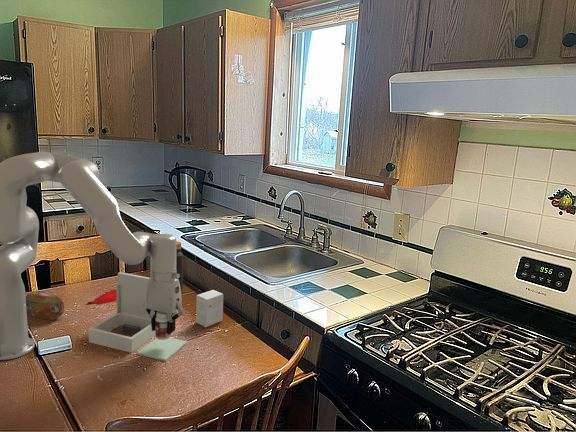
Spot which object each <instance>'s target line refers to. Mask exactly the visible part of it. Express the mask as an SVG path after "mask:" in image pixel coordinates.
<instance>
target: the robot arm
mask: <svg viewBox="0 0 576 432" xmlns="http://www.w3.org/2000/svg"><path fill="white" fill-rule="evenodd" d="M99 178H100V170H99V168H98V167H97V165H96V163H94V162H92V161H91V160H89V159H86V158H81V157H76V156H75V157H74V156H71V155H65V154H59V153H54V152H49V151H48V152H47V151H37V152H30V153H24V154H19V155H16V156H11V157H8V158H6V159H4V160H2V161H1V162H0V245H1V246H0V361H7V360H13V359H16V358H19V357H22V356H25V355H26V354H29V353H30V352H31V351H32V350H33V349H34V348H35V347H36V346H35V340H34V339H33V338H31V337H29V329H28V314H27V308H26V296H27V295H26V294H27V293H26V288H25V284H24V281H23V279H22V273H23V272H24V271H26V270H27V269H28V268H29V267H31V265H33V264H34V262H35V260H36V257H37V252H38V242H39V231H40V221H39V218H38V215H37V213H36V212H35V210H34V209H32V208H31V207H29V206H28V205H27V203H28V202H27V200H28V196H27V195H28V194H27V190H26V189H27V187H28V186H33V185H37V184H41V183H44V182H53V183H59V184H61V186H62V187H63V189H65V190H66V191H67V193H69V195H70V196H71V197H72V198H73V199H74V200H75V201H76V203H77V204H78V205H79V206H80V207H81V208H82V209H83V210H84V212H85V213H86V214H87V215H88V217H90V218H91V220H92V222H93V224H94V227H95V230H96V231H97V232H98V235H99V236H100V237H101V240H102V242H104V244H105V245H106V246H107V248H108V249H109V250H110V251H111V252H112V253H113V255H114V256H116V258H117V259H119V260H120V261H121V262H123V264H125V265H129V266H136V265H139V264H141V263H142V262H143V261H144V260H145V258H146V257H148V256H149V257H150V261H149V262H150V264H149V265H150V269H149V270H150V271H149V272H150V273H149V274H150V275H149V276H150V277H149V281H148V285H147V293H146V300H145V301H144V303H143V304H142V307H143V308H144V309H145V310H146V311H147V313H148V314H149V317H150V318H151V326H152V331H155V319H156V317H157V311H160V312H164V313H167V315H168V319H169V322H168V323H167V334H169V335H170V334H171V335H172V333H174V332H175V331H176V320H177V319H178V318H179V317H182V316H183V315H184V314H185V313H186V310H185V309H184V307H183V306H182V305H183V304H182V301H183V299H182V289H181V288H180V283H179V279H176V278H179V276H180V275H179V274H177V270H176V241H177V238H176V236H175V235H173V234H169V233H159V234H158V233H157V234H156V233H150V232H147V231H146V232H145V231H135V232H131V231H130V230H129V229H128V227H127V226H126V225H125V222H124V221H123V220H122V219H123V218H122V217H121V213H120V208H119V204H118V203H119V202H118V200H117V198H115V196H114V195H113V194H112V193H111V192H110V191H109V190H108V189H107V188H106V185H104V184H103V183H102V182H101V180H100V179H99Z"/></svg>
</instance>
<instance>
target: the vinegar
mask: <svg viewBox="0 0 576 432" xmlns="http://www.w3.org/2000/svg"><path fill="white" fill-rule="evenodd" d="M181 250H182V242H181V241H177V240H176V270H177V274H179V275H180V276H179V278H176V279H179V283H180V288H181V290H182V289H183V287H184V253H183V252H182V251H181Z"/></svg>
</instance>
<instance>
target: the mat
mask: <svg viewBox="0 0 576 432" xmlns="http://www.w3.org/2000/svg"><path fill="white" fill-rule="evenodd" d="M187 344H188V341H187V340H182V339H177V338H173V337H170V338H169V339H166V340H159V339H157V338H156V337H155V339H154V340H152V341H151V342H150V343H148V344H147V345H145V346H144V347H143V348H141V349H140V350H139V351H138V352H137V355H140V356H144V357H148V358H152V359H155V360H158V361H163V362H167V361H169V360H170V359H171V358H172V357H173V356H174V355H176V353H178V352H179V351H180V350H181V349H182V348H184V347H185V346H186V345H187Z"/></svg>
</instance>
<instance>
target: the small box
mask: <svg viewBox="0 0 576 432" xmlns="http://www.w3.org/2000/svg"><path fill="white" fill-rule="evenodd" d="M195 305H196V306H195V308H196V310H195V311H196V312H195V314H196V316H195V317H196V318H195V322H196V324H199V325H200V326H202V327H205V328H207V327H210V326H213V325H215V324H218V323H220V322H223V315H224V293H222V292H219V291H217V290H215V289H211V290H208V291H205V292H202V293H199V294H197V295H196V304H195Z"/></svg>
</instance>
